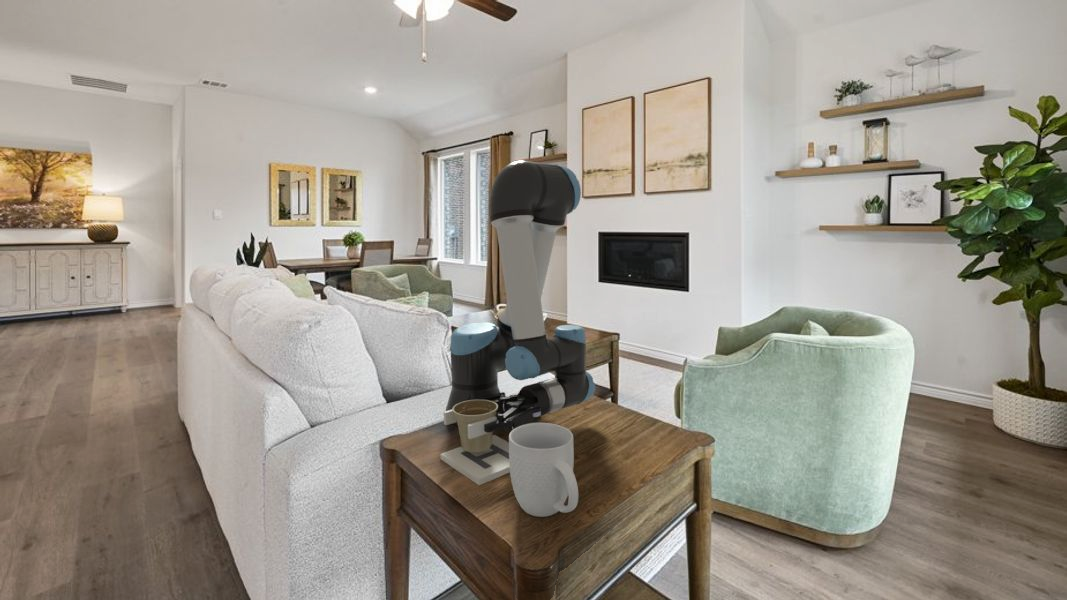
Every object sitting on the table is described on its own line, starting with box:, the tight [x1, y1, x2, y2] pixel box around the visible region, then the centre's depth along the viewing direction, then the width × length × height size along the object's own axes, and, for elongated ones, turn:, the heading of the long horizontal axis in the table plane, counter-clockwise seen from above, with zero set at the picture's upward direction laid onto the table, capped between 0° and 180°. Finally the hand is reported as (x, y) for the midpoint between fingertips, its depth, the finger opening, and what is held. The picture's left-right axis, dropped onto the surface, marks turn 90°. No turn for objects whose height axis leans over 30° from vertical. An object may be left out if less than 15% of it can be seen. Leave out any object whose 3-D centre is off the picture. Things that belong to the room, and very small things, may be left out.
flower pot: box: [452, 399, 498, 452], centre depth 101 cm, size 9×9×9 cm
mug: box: [508, 422, 579, 518], centre depth 82 cm, size 15×11×13 cm
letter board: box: [440, 434, 510, 486], centre depth 101 cm, size 14×14×1 cm
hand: (456, 425), depth 98 cm, fingers closed on flower pot, 8 cm apart
